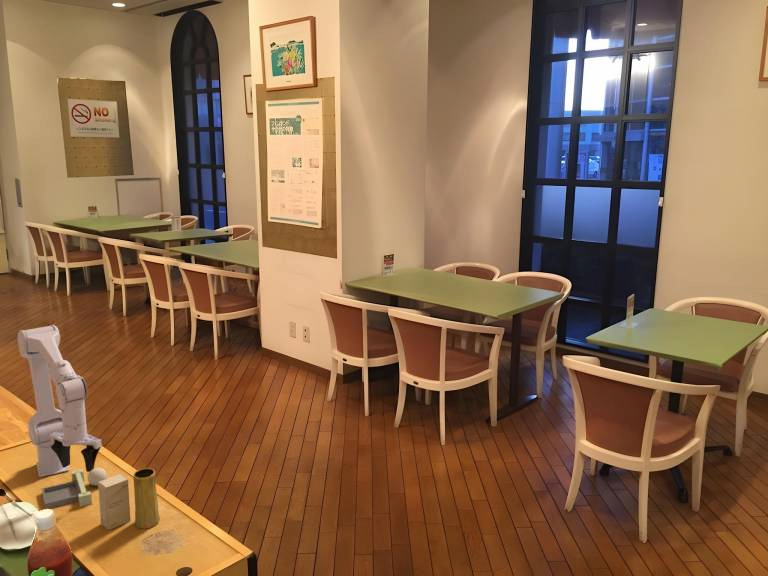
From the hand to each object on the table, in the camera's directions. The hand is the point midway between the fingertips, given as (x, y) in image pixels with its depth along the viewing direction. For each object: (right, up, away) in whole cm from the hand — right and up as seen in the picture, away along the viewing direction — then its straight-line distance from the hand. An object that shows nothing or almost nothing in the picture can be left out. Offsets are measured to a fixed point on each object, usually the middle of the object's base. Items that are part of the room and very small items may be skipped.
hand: (78, 468), depth 174 cm
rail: (-2, -8, +6) cm, 10 cm away
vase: (+22, -12, -7) cm, 26 cm away
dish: (-6, -9, +3) cm, 11 cm away
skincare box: (+14, -12, -7) cm, 20 cm away
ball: (+1, -5, +9) cm, 11 cm away
